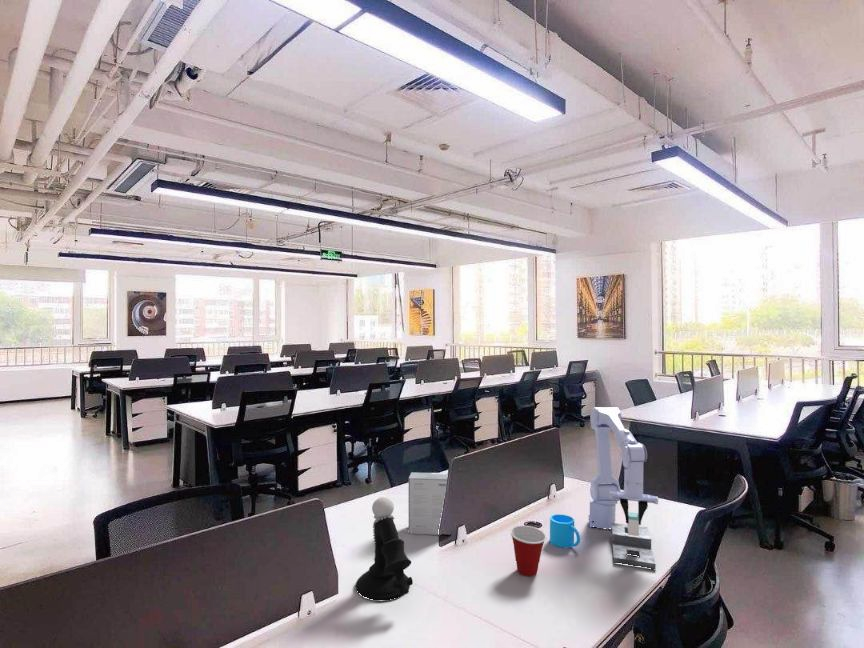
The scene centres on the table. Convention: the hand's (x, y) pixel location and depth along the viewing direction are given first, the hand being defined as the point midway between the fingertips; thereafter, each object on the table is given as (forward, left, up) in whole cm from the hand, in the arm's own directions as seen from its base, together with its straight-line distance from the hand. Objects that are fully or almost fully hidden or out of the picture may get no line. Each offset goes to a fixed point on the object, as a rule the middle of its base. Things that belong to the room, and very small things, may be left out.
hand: (633, 523), depth 161 cm
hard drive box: (-68, -4, -11) cm, 69 cm away
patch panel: (0, +3, -11) cm, 11 cm away
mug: (-21, +1, -11) cm, 24 cm away
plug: (0, 0, -3) cm, 3 cm away
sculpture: (-66, -47, -11) cm, 82 cm away
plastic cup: (-31, -22, -11) cm, 40 cm away
